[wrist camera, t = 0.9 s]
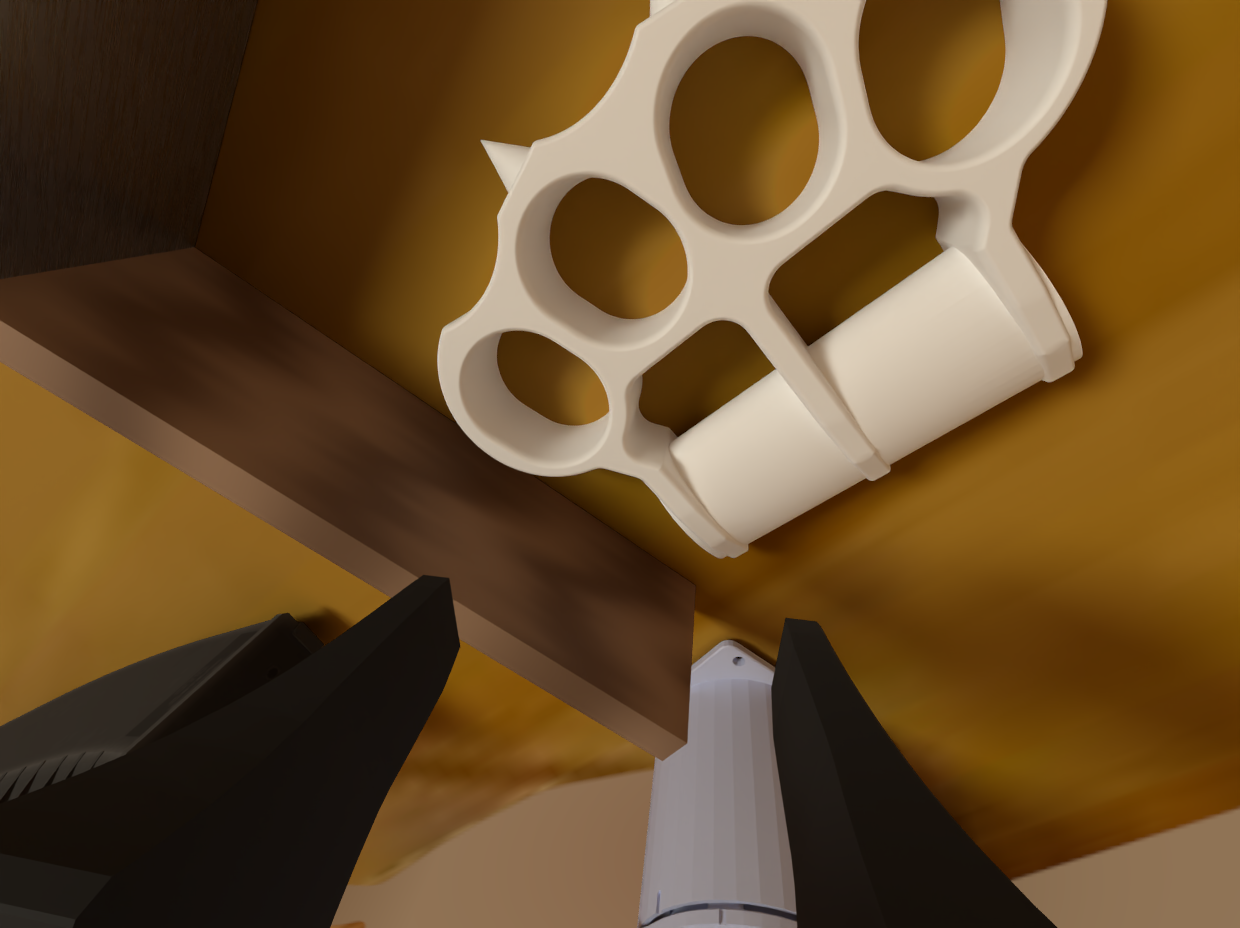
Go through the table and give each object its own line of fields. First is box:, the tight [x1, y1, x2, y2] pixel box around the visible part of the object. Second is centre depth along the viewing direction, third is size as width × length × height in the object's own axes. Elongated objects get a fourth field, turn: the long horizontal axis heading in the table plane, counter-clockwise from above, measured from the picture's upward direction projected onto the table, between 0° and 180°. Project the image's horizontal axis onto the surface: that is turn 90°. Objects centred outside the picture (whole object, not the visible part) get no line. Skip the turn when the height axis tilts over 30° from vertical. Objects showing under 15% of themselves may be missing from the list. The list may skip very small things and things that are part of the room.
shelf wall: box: [0, 247, 696, 761], centre depth 13 cm, size 23×23×7 cm
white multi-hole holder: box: [437, 0, 1107, 558], centre depth 16 cm, size 3×18×15 cm
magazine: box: [0, 613, 324, 804], centre depth 27 cm, size 17×3×30 cm
